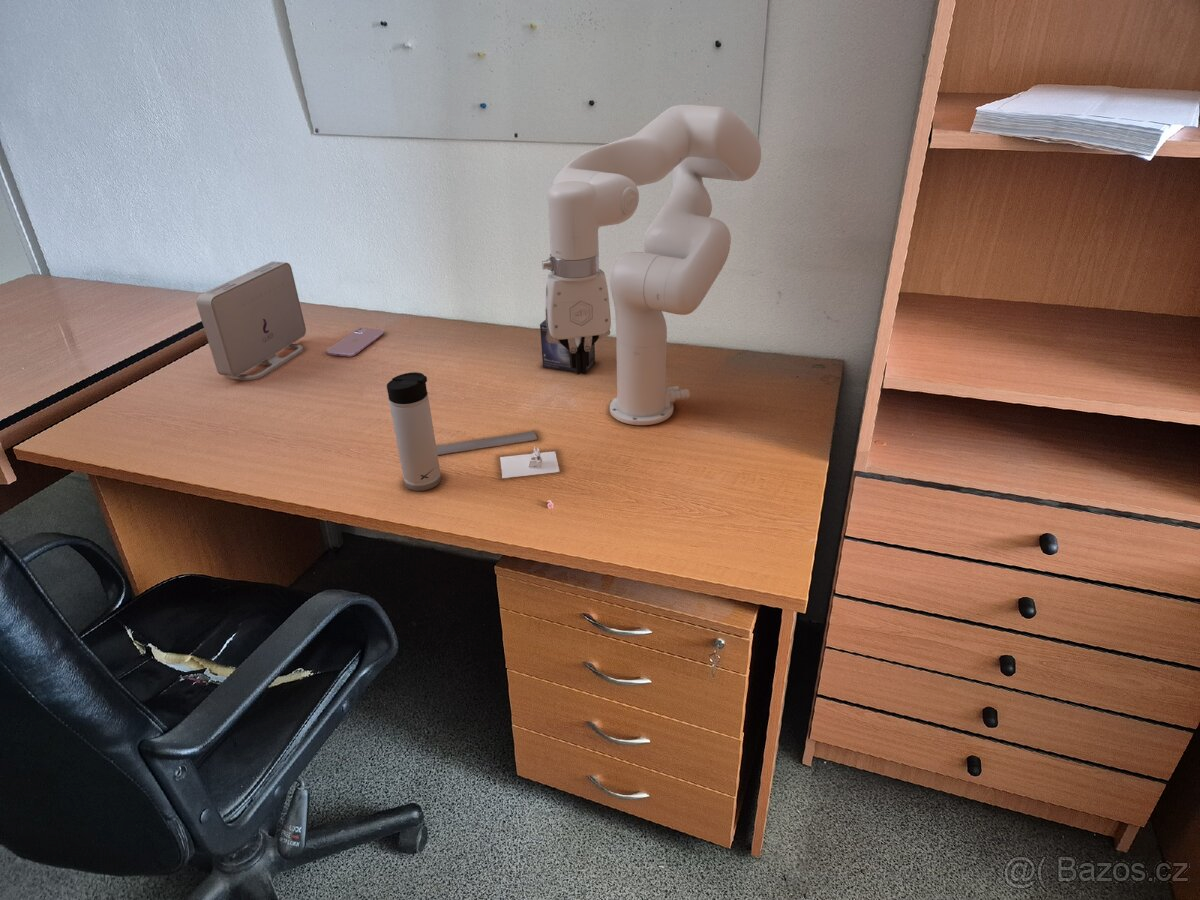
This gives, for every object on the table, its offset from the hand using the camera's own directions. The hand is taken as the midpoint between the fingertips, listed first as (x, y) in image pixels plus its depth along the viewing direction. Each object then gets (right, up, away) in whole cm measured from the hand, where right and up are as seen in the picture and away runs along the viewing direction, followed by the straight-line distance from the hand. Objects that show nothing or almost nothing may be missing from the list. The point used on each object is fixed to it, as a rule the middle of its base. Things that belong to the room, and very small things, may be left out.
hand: (579, 370), depth 132 cm
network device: (-73, +7, +48) cm, 88 cm away
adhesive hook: (-9, -16, +7) cm, 20 cm away
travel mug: (-27, -19, +3) cm, 33 cm away
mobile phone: (-55, +12, +55) cm, 79 cm away
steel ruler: (-18, -12, +13) cm, 26 cm away
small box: (-3, +5, +42) cm, 42 cm away
